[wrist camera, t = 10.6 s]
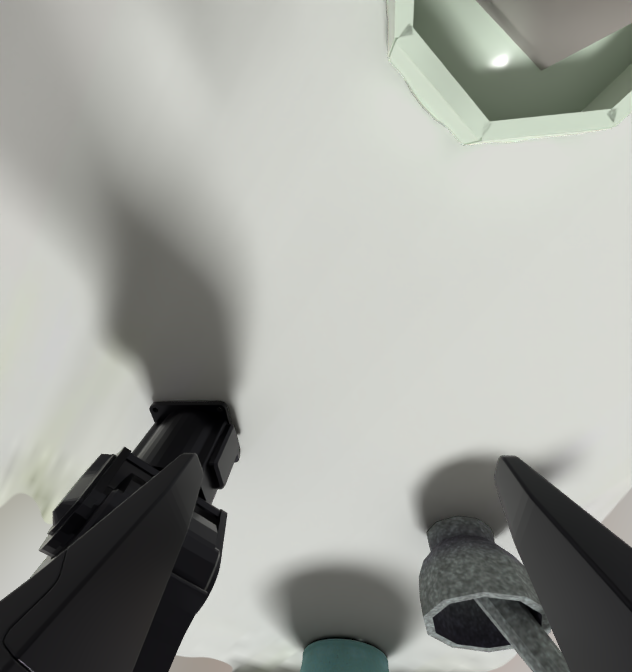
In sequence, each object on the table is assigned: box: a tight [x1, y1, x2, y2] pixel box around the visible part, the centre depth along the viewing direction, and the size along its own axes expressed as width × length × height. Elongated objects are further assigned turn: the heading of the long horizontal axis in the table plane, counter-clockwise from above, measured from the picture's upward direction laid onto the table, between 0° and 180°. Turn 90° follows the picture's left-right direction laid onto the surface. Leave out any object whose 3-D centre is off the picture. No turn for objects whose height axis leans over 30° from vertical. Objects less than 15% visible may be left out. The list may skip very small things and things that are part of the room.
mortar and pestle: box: [419, 516, 570, 672], centre depth 26 cm, size 11×9×12 cm
